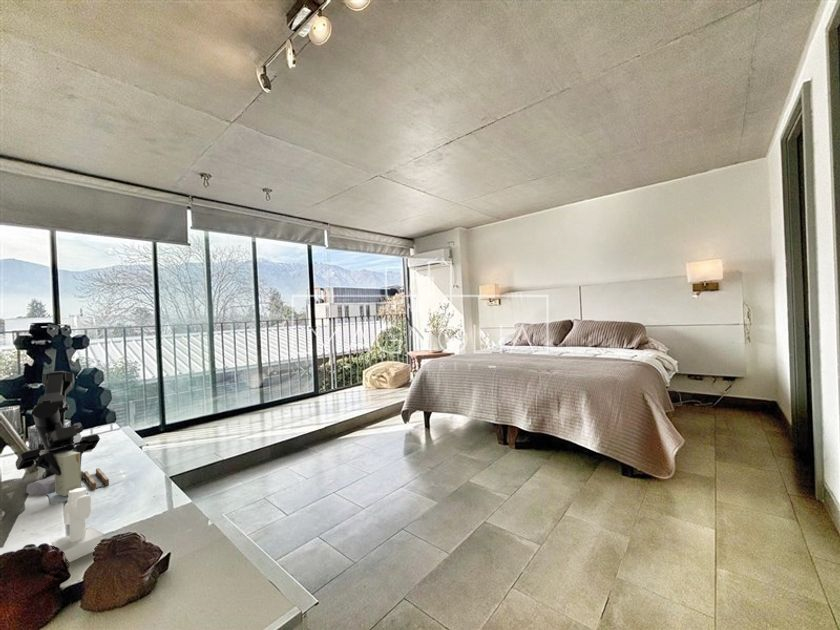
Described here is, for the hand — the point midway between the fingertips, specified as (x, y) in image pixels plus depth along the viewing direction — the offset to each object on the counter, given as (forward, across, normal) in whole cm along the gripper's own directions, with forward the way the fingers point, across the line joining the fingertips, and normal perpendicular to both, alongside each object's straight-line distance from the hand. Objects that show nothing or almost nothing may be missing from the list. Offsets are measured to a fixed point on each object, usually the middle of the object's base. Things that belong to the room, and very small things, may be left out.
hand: (70, 471), depth 111 cm
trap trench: (+2, +9, +9) cm, 13 cm away
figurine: (+34, -14, -24) cm, 44 cm away
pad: (+4, 0, +6) cm, 8 cm away
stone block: (-4, +2, +16) cm, 17 cm away
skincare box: (+4, 0, +6) cm, 7 cm away
